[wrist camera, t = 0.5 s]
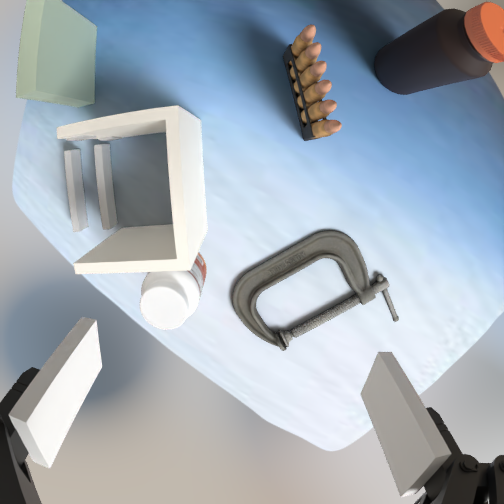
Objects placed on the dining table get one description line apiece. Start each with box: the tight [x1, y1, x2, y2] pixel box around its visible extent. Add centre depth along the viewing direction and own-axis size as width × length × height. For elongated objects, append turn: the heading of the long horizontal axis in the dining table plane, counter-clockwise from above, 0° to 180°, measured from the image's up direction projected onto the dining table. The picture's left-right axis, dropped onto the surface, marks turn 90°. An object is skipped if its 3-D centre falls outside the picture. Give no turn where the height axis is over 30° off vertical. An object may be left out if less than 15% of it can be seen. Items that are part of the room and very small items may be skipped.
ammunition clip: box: [283, 25, 341, 141], centre depth 28 cm, size 11×2×12 cm, turn 13°
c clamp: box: [233, 230, 399, 351], centre depth 41 cm, size 20×17×3 cm
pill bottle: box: [140, 252, 206, 330], centre depth 34 cm, size 6×6×11 cm
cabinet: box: [57, 105, 208, 274], centre depth 30 cm, size 13×17×13 cm
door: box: [16, 0, 97, 107], centre depth 25 cm, size 11×4×13 cm, turn 2°
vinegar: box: [374, 2, 504, 95], centre depth 23 cm, size 7×7×20 cm
